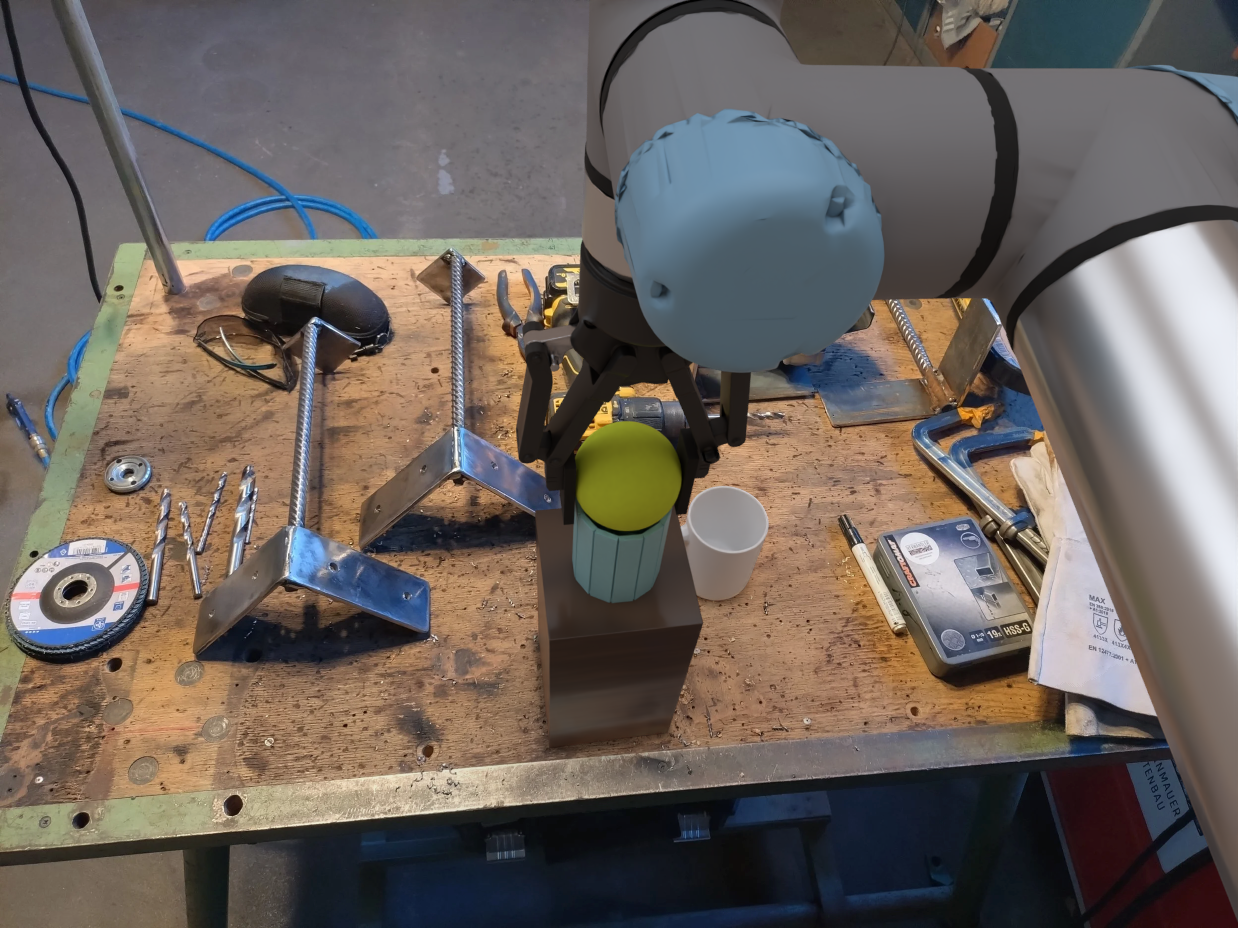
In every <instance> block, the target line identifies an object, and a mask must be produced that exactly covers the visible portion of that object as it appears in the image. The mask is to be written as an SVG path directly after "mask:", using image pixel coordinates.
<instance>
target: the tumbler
mask: <svg viewBox="0 0 1238 928" xmlns="http://www.w3.org/2000/svg"><path fill="white" fill-rule="evenodd" d="M671 512H672V508H671V509H670V511H669V512H668V513H667V514H666V515H665V516H664V517H663V518H662V519H660V520H659V521H658V522H656V523H654V524H652V525H651V526H649V527H646V528H643V529H640V530H634V531H620V530H614V529H611V528H607V527H605V526H603V525H601V524H599V523H597V522H596V521H595V520H593V519H592V518H591V517H590V516H589V515H588V514H587V513H586V512H585V511H584V510H583V509H582V507H581V505H580V504H579V502H578V500H577V498H576V496H575V516H574V529H573V554H572V562H573V569H574V576H575V577H576V580H577V581H578V583H579V584H580V585H581V586H582V587H583V589H584V590H585V591H586V592H587V593H588V594H589V593H590V596H593V597H596V598H598V599H601V600H603V601H606V602H609V603H610V602H612V603H618V602H628V601H633V599H634V600H636V599H637V598H639V597H640V596H642V595H643V594H645V593H646V592H648V591H649V590H650V589H651V587H653V585H654V582H655V580H656V578H657V575H658V573H659V570H660V565H661V560H662V555H663V550H664V546H665V541H666V536H667V531H668V526H669V522H670V517H671Z"/></svg>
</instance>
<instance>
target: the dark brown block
mask: <svg viewBox="0 0 1238 928" xmlns="http://www.w3.org/2000/svg"><path fill="white" fill-rule="evenodd" d="M534 516H535V517H534V518H535V519H534V522H535V557H536V594H537V595H536V596H537V597H536V599H537V600H536V601H537V631H538V632H537V635H538V646H539V647H538V648H539V658H540V668H541V677H542V687H543V689H542V690H543V698H544V699H543V700H544V707H545V719H546V728H547V738H548V748H549V749H552V748H560V747H568V746H574V745H575V746H576V745H583V744H592V743H598V742H606V741H614V740H623V739H629V738H630V739H631V738H637V737H645V736H653V735H661V734H668V733H669V731H670V727H671V724H672V721H673V718H674V715H675V713H676V709H677V707H678V703H679V701H680V697H681V694H682V691H683V687H684V684H685V681H686V678H687V675H688V672H689V669H690V667H691V663H692V659H693V656H694V653H695V650H696V647H697V644H698V642H699V639H700V635H701V632H702V629H703V626H704V620H703V616H702V611H701V607H700V604H699V599H698V598H699V597H698V596H697V594H696V590H695V586H694V581H693V577H692V573H691V569H690V564H689V560H688V556H687V552H686V547H685V543H684V539H683V535H682V531H681V526H682V525H681V522H680V517H679V515H676V511H675V507H674V505H673V506H672V512H671V517H670V522H669V526H668V531H667V536H666V541H665V546H664V550H663V555H662V560H661V565H660V570H659V573H658V575H657V578H656V580H655V582H654V585H653V587H651V589H650V590H649V591H648V592H646V593H645V594H643V595H642V596H640V597H639V598H637V599H636V600H634V599H633V601H628V602H618V603H612V602H610V603H609V602H606V601H603V600H601V599H598V598H596V597H593V596H590V593H589V594H588V593H587V592H586V591H585V590H584V589H583V587H582V586H581V585H580V584H579V583H578V581H577V580H576V577H575V576H574V569H573V562H572V554H573V529H574V524H570V525H564V524H563V516H562V509H561V507H560V508H547V509H536V510H534Z"/></svg>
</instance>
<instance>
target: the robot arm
mask: <svg viewBox="0 0 1238 928" xmlns="http://www.w3.org/2000/svg"><path fill="white" fill-rule="evenodd" d="M783 5H784V0H588V38H587V45H588V46H587V73H586V74H587V75H586V132H585V133H586V137H585V138H586V139H585V145H584V158H583V159H584V161H583V163H584V164H583V165H584V166H583V169H584V170H583V183H582V185H583V186H582V204H581V205H582V206H581V225H580V226H581V229H580V230H581V239H582V240H581V243H580V248H579V249H580V250H579V252H580V253H579V274H578V275H579V278H578V300H577V301H578V303H577V307H576V309H575V310H574V312H573V314H572V315H571V316H570V318H569V321H568V323H567V324H565V325H560V326H556V327H550V328H546V329H545V328H544V326H543V324H542V323H541V322H539V321H537V320H530V321H527V322H525V323H524V324H523V325H522V327H521V331H522V341H523V349H524V359H525V363H526V365H525V366H526V367H525V371H524V372H525V373H524V378H523V384H522V389H521V390H522V391H521V396H520V402H519V407H518V413H517V417H516V418H517V419H516V424H515V435H516V449H517V455H518V461H519V463H521V464H533V463H534V462H536V461H537V460H539V461H542V462H543V464H544V466H543V469H544V470H543V471H544V479H545V487H546V489H547V490H548V491H549V492H554V491H559V500H560V508H561V509H562V516H563V524H564V525H570V524H574V516H575V493H576V469H577V468H576V461H575V457H576V455H575V448H576V447H577V445H578V444H579V443H580V441H581V439H582V438H583V437H584V435H585V433H586V431H587V430H588V428H589V427H590V425H591V423H592V422H593V421H594V419H595V418H596V417H597V414H598V413H599V412H600V410H601V408H602V407H603V405H604V404H605V403H607V404H609V403H610V402H611V401H612V399H613V398H614V396H615V395H616V393H617V392H618V390H619V389H620V387H631V386H634V385H635V386H636V385H639V384H650V385H651V384H652V385H666V384H667V385H668V384H670V386H671V389H672V391H673V394H674V396H675V398H676V399H677V401H678V403H679V405H680V409H681V410H682V413H683V415H684V417H685V418H684V419H685V420H686V423H687V425H688V427H684V428H680V429H679V434H678V439H677V445H676V449H675V451H676V453H677V455H678V458H679V461H680V465H681V472H682V480H681V487H680V491H679V494H678V497H677V499H676V501H675V503H674V507H675V511H676V515H678V516H682V515H687V514H688V509H689V506H690V501H691V496H692V492H693V488H694V483H695V480H696V479H705V478H706V477H707V475H708V474H709V472H710V467H711V465H713V464H716V463H718V462H719V461H720V459H721V454H720V451H719V447H721V446H723V445H728V446H729V447H731V448H738V447H741V446H742V445H744V444H745V442H746V440H747V430H748V429H747V428H748V418H749V417H748V415H749V405H750V404H749V403H750V392H751V391H750V390H751V380H752V379H751V378H752V373H759V372H766V371H771V370H775V369H777V368H778V367H779V365H780V362H782V361H784V360H787V359H790V358H791V357H795V356H797V355H801V354H802V355H804V356H807V357H811V356H813V355H816V354H817V353H820V352H821V351H824V349H826V348H828V347H829V346H831V345H833V344H834V343H835V342H837V340H839V339H841V338H842V337H843V336H844V335H845V334H846V333H847V332H848V331H849V330H851V328H853V327H854V326H855V325H856V323H857V322H858V321H859V320H860V318H861V317H862V316H863V315H864V313H865V312H866V310H867V309H868V308H869V307H870V304H871V303H872V301H892V300H893V301H896V300H897V301H898V300H899V301H901V300H933V299H935V300H938V299H939V300H942V299H943V300H945V299H946V300H947V299H969V300H970V299H973V300H975V299H977V300H978V299H979V300H981V299H984V300H985V299H986V300H987V301H989V302H991V303H992V305H993V306H994V309H995V310H996V313H997V316H998V319H999V321H1000V325H1001V326H1002V327H1003V330H1004V331H1005V336H1006V338H1007V342H1008V344H1009V346H1010V350H1011V351H1012V353H1013V354H1014V356H1015V359H1016V360H1017V364H1018V366H1019V369H1020V371H1021V373H1022V375H1023V378H1024V380H1025V384H1026V387H1027V389H1028V391H1029V394H1030V396H1031V399H1032V401H1033V404H1034V407H1035V410H1036V411H1037V414H1038V417H1039V419H1040V422H1041V424H1042V427H1043V429H1044V432H1045V434H1046V437H1047V439H1048V442H1049V445H1050V447H1051V450H1052V452H1053V455H1054V457H1055V460H1056V462H1057V465H1058V467H1059V470H1060V473H1061V475H1062V477H1063V478H1062V479H1063V480H1064V483H1065V486H1066V488H1067V490H1068V493H1069V496H1070V498H1071V501H1072V504H1073V506H1074V508H1075V511H1076V514H1077V516H1078V519H1079V522H1080V523H1081V526H1082V529H1083V532H1084V534H1085V536H1086V539H1087V542H1088V544H1089V547H1090V549H1091V551H1092V554H1093V557H1094V560H1095V562H1096V564H1097V567H1098V569H1099V572H1100V575H1101V577H1102V579H1103V582H1104V585H1105V587H1106V590H1107V592H1108V595H1109V598H1110V600H1111V603H1112V605H1113V607H1114V610H1115V613H1116V615H1117V618H1118V621H1119V623H1120V626H1121V629H1122V631H1123V633H1124V636H1125V638H1126V640H1127V644H1128V646H1129V648H1130V651H1131V654H1132V656H1133V658H1134V661H1135V664H1136V666H1137V669H1138V671H1139V673H1140V677H1141V679H1142V682H1143V684H1144V687H1145V689H1146V691H1147V695H1148V697H1149V699H1150V702H1151V704H1152V707H1153V709H1154V712H1155V714H1156V718H1157V720H1158V722H1159V725H1160V727H1161V730H1162V733H1163V735H1164V738H1165V740H1166V743H1167V746H1168V748H1169V750H1170V752H1171V755H1172V758H1173V761H1174V763H1175V765H1176V769H1177V770H1178V773H1179V775H1180V777H1181V781H1182V783H1183V786H1184V789H1185V792H1186V793H1187V796H1188V799H1189V801H1190V804H1191V806H1192V809H1193V811H1194V814H1195V816H1196V819H1197V822H1198V824H1199V827H1200V830H1201V832H1202V834H1203V837H1204V839H1205V842H1206V845H1207V848H1208V850H1209V852H1210V855H1211V857H1212V860H1213V863H1214V865H1215V867H1216V870H1217V872H1218V876H1219V878H1220V880H1221V883H1222V885H1223V888H1224V890H1225V893H1226V896H1227V897H1228V900H1229V903H1230V906H1231V908H1232V911H1233V913H1234V916H1235V918H1236V921H1237V922H1238V76H1235V75H1225V74H1215V73H1207V72H1196V71H1188V70H1187V71H1186V70H1183V69H1178V68H1176V67H1174V66H1173V65H1168V64H1167V65H1166V64H1156V65H1155V64H1151V65H1136V66H1128V67H1123V68H1119V67H1117V68H1116V67H1115V68H1112V67H1111V68H1109V67H1107V68H1105V67H1104V68H1103V67H1102V68H1101V67H1100V68H1099V67H1098V68H1097V67H1096V68H1094V67H1093V68H1091V67H1090V68H1089V67H1088V68H1086V67H1085V68H1084V67H1083V68H1081V67H1080V68H1078V67H1075V68H1070V67H1069V68H1068V67H1066V68H1064V67H1063V68H1062V67H1061V68H1060V67H1059V68H1057V67H1056V68H1055V67H1054V68H1053V67H1051V68H1049V67H1048V68H1047V67H1043V68H1041V67H1040V68H1039V67H1038V68H1034V67H1031V68H1029V67H1028V68H1026V67H1023V68H1019V67H1018V68H1014V67H1012V68H1011V67H1009V68H1008V67H1007V68H1006V67H1005V68H1003V67H1002V68H1001V67H999V68H998V67H997V68H993V67H992V68H991V67H990V68H989V67H988V68H984V67H983V68H981V67H980V68H979V67H977V68H973V67H972V68H970V67H959V66H915V65H914V66H912V65H909V66H908V65H862V64H861V65H857V64H854V65H853V64H852V65H851V64H803V63H801V62H800V61H799V58H798V56H797V54H796V52H795V51H794V49H793V47H792V45H791V43H790V40H789V38H788V37H787V34H786V33H785V30H784V29H783V27H782V25H781V15H782V8H783ZM570 350H574V352H576V353H577V354H578V356H579V357H581V358H582V362H581V363H582V364H581V368H580V369H579V372H578V374H577V375H576V377H575V378H574V380H573V382H572V384H571V385H570V387H569V389H568V390H567V392H566V394H565V395H564V397H563V399H562V400H561V402H560V403H559V405H558V407H557V409H556V411H554V414H553V416H552V418H551V419H550V420H549V422H548V423H546V419H547V414H548V410H549V405H550V401H551V396H552V391H553V385H554V377H553V372H557V371H559V370H560V367H561V366H560V365H561V364H562V363H563V362H564V359H565V354H566V353H567V352H568V351H570ZM692 364H696V365H698V366H701V367H703V368H708V369H711V370H714V371H719V372H720V392H719V416H718V417H714V418H711V419H710V417H709V415H708V411H707V409H706V406H705V403H704V401H703V399H702V396H701V393H700V390H699V388H698V386H697V383H696V380H695V377H694V374H693V372H692V369H691V365H692Z"/></svg>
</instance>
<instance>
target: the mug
mask: <svg viewBox="0 0 1238 928" xmlns="http://www.w3.org/2000/svg"><path fill="white" fill-rule="evenodd" d="M691 500H692V501H691V502H690V503H689V506H688V510H687V514H686V519H685V523H684V524H682V525H680V526H681V531H682V535H683V539H684V543H685V547H686V552H687V556H688V560H689V564H690V569H691V573H692V577H693V581H694V586H695V590H696V594H697V597H698V598H702V599H704V600H707V601H725V600H728V599H732V598H734V597H735V596H737V595H739V594H741V592H742V591H743V590H744V589H745V588H746V586H747V585H748V583H749V581H750V579H751V577H752V575H753V571H754V569H755V566H756V564H757V561H758V558H759V556H760V553H761V550H762V548H763V547H764V543H765V541H766V538H767V535H768V534H769V533H768V532H769V526H770V524H769V523H770V522H769V521H770V520H769V517H768V514H767V511H766V509H765V507H764V506H763V504H762V503H761V502H760V501H759V500H758V499H757V498H756V497H755V496H754V495H753V494H751V493H749V492H748V491H746V490H745V489H741V488H739V487H736V486H730V485H717V486H712V487H709V488H706V489H704V490H702V491H700V492H699V493H698V494H697V495H696V496H695V497H693V499H691Z"/></svg>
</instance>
